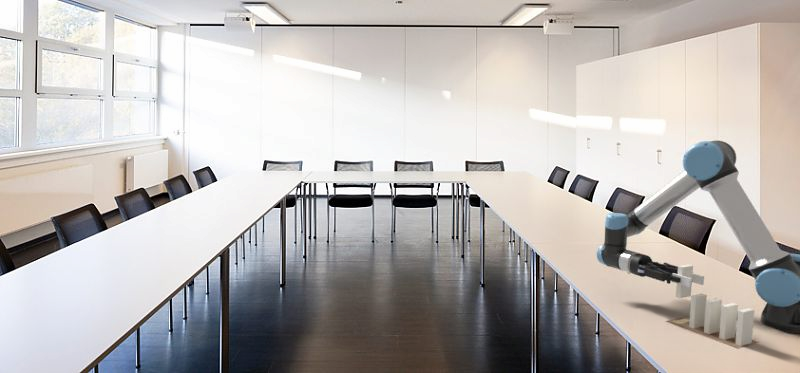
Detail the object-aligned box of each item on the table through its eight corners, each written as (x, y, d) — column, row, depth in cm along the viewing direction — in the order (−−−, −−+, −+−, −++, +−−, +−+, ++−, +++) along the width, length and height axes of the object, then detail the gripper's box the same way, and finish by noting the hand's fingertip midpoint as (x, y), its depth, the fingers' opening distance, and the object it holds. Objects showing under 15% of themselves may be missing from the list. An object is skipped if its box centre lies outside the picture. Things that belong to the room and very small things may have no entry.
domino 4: (719, 338, 173) (721, 305, 172) (729, 335, 175) (732, 302, 174) (724, 339, 171) (726, 307, 170) (735, 337, 174) (737, 304, 172)
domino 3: (703, 332, 177) (706, 300, 176) (714, 329, 180) (716, 298, 178) (708, 334, 176) (711, 302, 175) (719, 331, 178) (721, 299, 177)
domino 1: (675, 296, 185) (678, 266, 184) (686, 294, 188) (688, 264, 186) (680, 298, 184) (682, 267, 183) (690, 296, 186) (693, 265, 185)
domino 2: (689, 326, 182) (691, 295, 180) (699, 324, 184) (702, 293, 183) (693, 328, 180) (695, 297, 179) (704, 325, 183) (706, 294, 181)
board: (686, 318, 191) (686, 316, 191) (759, 344, 170) (759, 342, 170) (665, 323, 187) (665, 321, 187) (737, 350, 165) (737, 348, 165)
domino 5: (735, 344, 168) (738, 310, 167) (746, 341, 171) (749, 308, 169) (740, 346, 167) (743, 312, 166) (751, 342, 169) (754, 309, 168)
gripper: (653, 271, 206) (714, 289, 186) (616, 277, 198) (676, 297, 178) (655, 250, 205) (716, 266, 185) (618, 255, 197) (678, 273, 177)
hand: (696, 281), depth 181 cm, fingers closed on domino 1, 5 cm apart
